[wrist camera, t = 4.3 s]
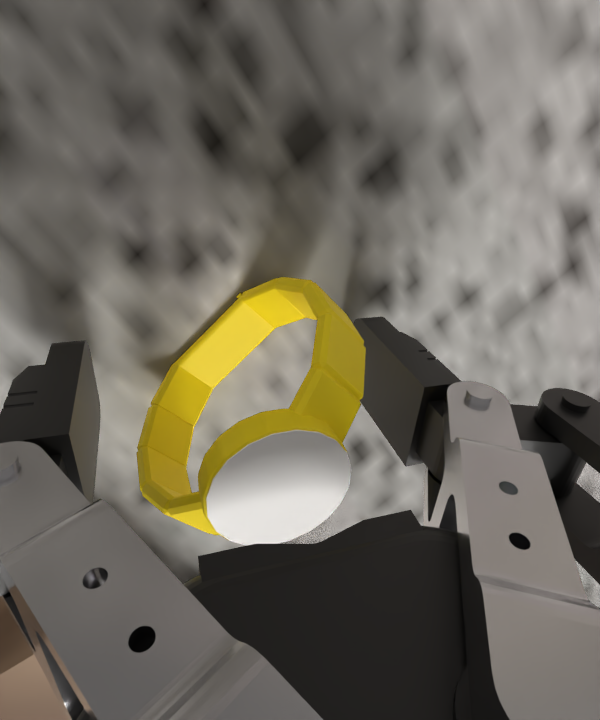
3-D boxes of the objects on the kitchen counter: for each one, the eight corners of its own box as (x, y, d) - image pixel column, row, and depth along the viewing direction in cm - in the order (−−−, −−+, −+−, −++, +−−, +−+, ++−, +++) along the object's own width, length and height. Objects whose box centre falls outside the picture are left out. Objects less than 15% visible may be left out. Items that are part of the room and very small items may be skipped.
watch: (258, 232, 12) (364, 318, 7) (323, 297, 14) (447, 404, 9) (108, 395, 13) (111, 579, 8) (187, 440, 14) (231, 616, 9)
